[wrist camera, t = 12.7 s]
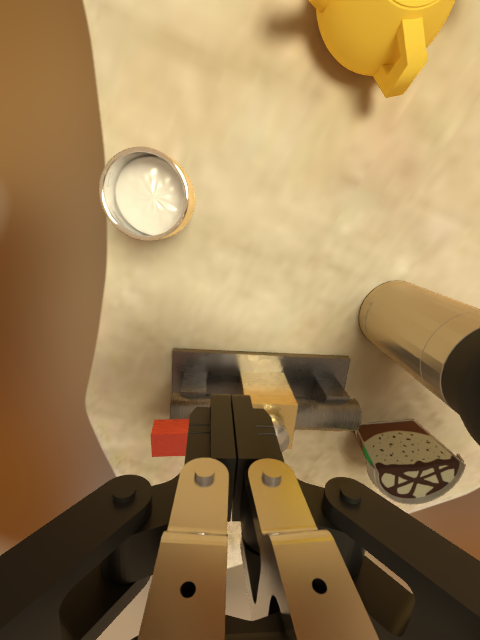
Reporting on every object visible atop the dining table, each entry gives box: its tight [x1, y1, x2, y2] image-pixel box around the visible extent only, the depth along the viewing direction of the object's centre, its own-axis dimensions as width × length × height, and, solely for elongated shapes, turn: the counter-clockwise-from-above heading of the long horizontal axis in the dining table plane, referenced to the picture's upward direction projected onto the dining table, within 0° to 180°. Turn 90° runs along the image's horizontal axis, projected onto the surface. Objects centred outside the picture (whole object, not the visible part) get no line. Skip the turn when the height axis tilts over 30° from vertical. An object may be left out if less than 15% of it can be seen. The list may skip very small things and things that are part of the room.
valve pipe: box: [170, 348, 361, 449], centre depth 44 cm, size 24×11×9 cm, turn 85°
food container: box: [354, 419, 466, 505], centre depth 48 cm, size 12×6×10 cm, turn 93°
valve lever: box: [151, 414, 289, 457], centre depth 38 cm, size 15×4×3 cm, turn 89°
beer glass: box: [99, 147, 195, 240], centre depth 32 cm, size 7×7×15 cm
